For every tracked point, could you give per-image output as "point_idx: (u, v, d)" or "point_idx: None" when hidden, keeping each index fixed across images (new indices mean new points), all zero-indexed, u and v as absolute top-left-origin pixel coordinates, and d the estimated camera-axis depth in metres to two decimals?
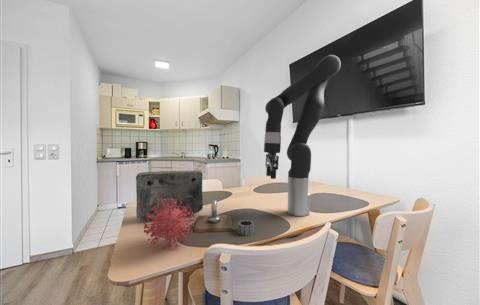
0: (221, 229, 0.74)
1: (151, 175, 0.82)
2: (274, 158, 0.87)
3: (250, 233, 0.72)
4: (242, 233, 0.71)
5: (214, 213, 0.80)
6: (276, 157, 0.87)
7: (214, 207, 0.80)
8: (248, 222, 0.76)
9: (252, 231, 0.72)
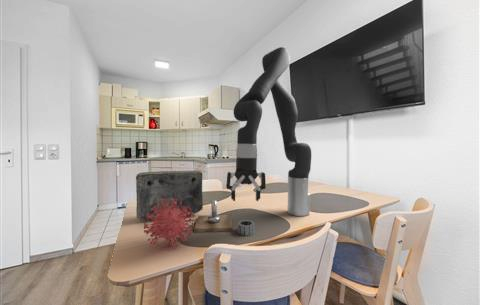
0: (221, 229, 0.74)
1: (151, 175, 0.82)
2: None
3: (250, 233, 0.72)
4: (242, 233, 0.71)
5: (214, 213, 0.80)
6: None
7: (214, 207, 0.80)
8: (248, 222, 0.76)
9: (252, 231, 0.72)
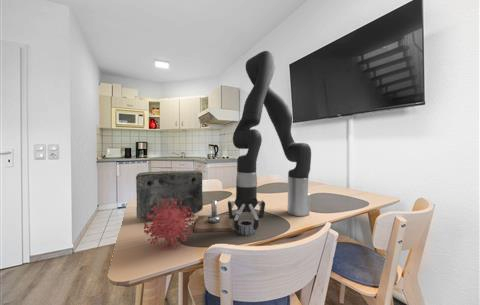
0: (221, 229, 0.74)
1: (151, 175, 0.82)
2: None
3: (250, 233, 0.72)
4: (242, 233, 0.71)
5: (214, 213, 0.80)
6: None
7: (214, 207, 0.80)
8: (248, 222, 0.76)
9: (252, 231, 0.72)
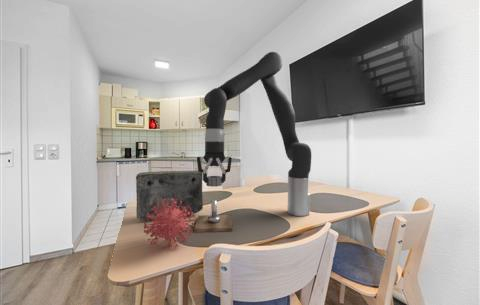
0: (221, 229, 0.74)
1: (151, 175, 0.82)
2: None
3: (217, 184, 0.78)
4: (210, 184, 0.78)
5: (214, 213, 0.80)
6: None
7: (214, 207, 0.80)
8: (217, 177, 0.82)
9: (219, 183, 0.78)
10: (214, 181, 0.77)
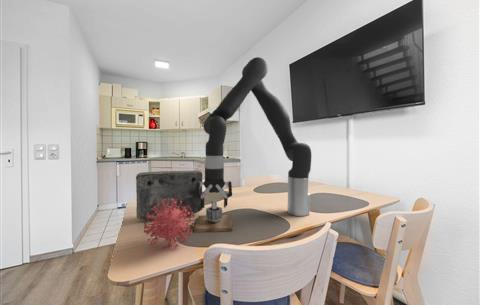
0: (221, 229, 0.74)
1: (151, 175, 0.82)
2: None
3: (217, 217, 0.78)
4: (209, 217, 0.78)
5: None
6: None
7: (214, 207, 0.80)
8: (217, 208, 0.83)
9: (219, 216, 0.79)
10: (214, 214, 0.78)
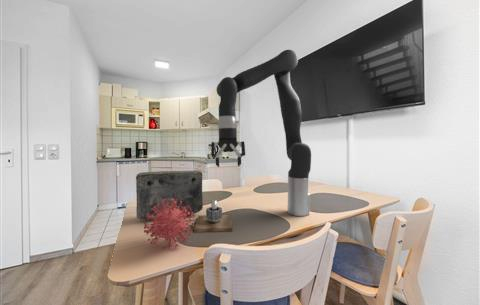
0: (221, 229, 0.74)
1: (151, 175, 0.82)
2: (244, 144, 0.85)
3: (217, 217, 0.78)
4: (209, 217, 0.78)
5: None
6: None
7: (214, 207, 0.80)
8: (217, 208, 0.83)
9: (219, 216, 0.79)
10: (214, 214, 0.78)
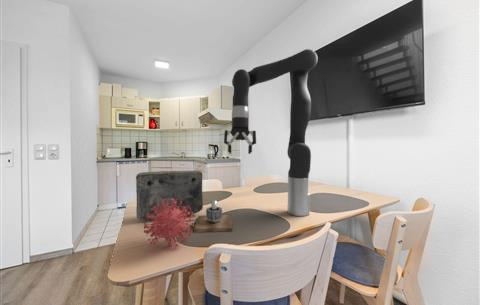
0: (221, 229, 0.74)
1: (151, 175, 0.82)
2: None
3: (217, 217, 0.78)
4: (209, 217, 0.78)
5: None
6: None
7: (214, 207, 0.80)
8: (217, 208, 0.83)
9: (219, 216, 0.79)
10: (214, 214, 0.78)
